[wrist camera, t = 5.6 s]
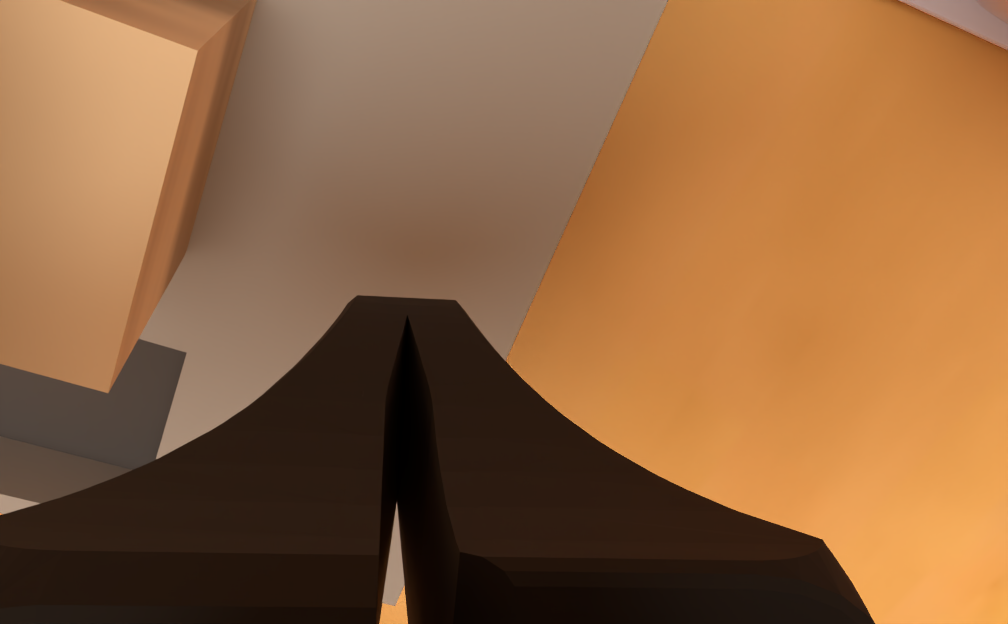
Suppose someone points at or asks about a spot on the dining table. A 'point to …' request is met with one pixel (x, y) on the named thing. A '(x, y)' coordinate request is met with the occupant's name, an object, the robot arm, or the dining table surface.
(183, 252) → the block
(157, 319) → the trap board
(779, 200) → the dining table surface
